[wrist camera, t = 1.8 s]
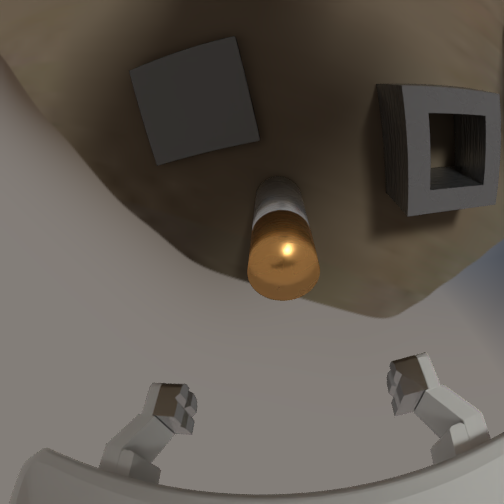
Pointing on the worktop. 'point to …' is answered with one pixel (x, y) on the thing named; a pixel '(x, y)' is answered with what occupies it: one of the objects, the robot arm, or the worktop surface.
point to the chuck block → (418, 147)
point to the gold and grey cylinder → (281, 243)
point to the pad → (195, 101)
